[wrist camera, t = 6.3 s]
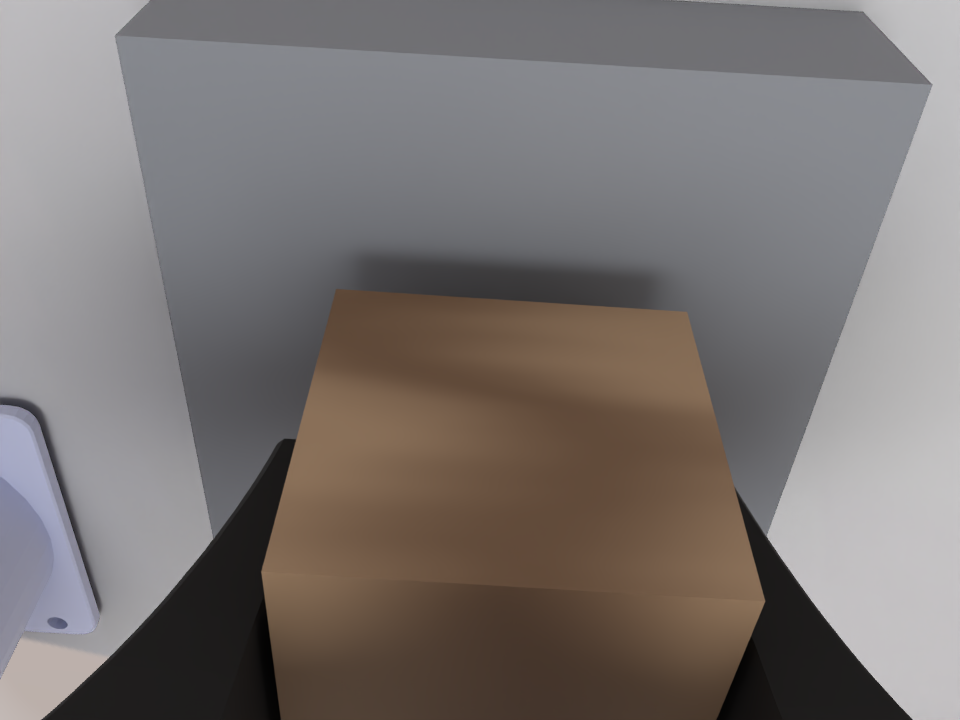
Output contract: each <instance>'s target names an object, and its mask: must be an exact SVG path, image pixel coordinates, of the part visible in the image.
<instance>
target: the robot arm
mask: <svg viewBox="0 0 960 720" xmlns="http://www.w3.org/2000/svg"><path fill="white" fill-rule="evenodd" d="M295 443H296V439H285V438H284V439H283V440H282V441H280V442H279V443H277V445H276V446H275V448H274V450H273V452H272V454H271V455H270V457H269V459H268V460H267V462H266V464H265V465H264V467H263V468H262V470H261V472H260V473H259V475H258V476H257V478H256V480H255V481H254V483H253V484H252V486H251V487H250V489H249V490H248V492H247V493H246V495H245V496H244V497H243V499H242V500H241V502H240V503H239V505H238V506H237V508H236V509H235V511H234V512H233V513H232V515H231V516H230V517H229V519H228V520H227V521H226V523H225V524H224V525H223V527H222V528H221V529H220V531H219V532H218V534H217V535H216V536H215V538H214V539H213V540H212V542H211V543H210V544H209V546H208V547H207V548H206V550H205V551H204V552H203V553H202V555H201V556H200V557H199V558H198V560H197V561H196V562H195V563H194V564H193V566H192V567H191V568H190V569H189V570H188V572H187V573H186V574H185V575H184V576H183V578H182V579H181V580H180V581H179V582H178V584H177V585H176V586H175V587H174V588H173V590H172V591H171V592H170V593H169V594H168V596H167V597H166V598H165V599H164V600H163V601H162V603H161V604H160V605H159V606H158V607H157V608H156V609H155V610H154V611H153V613H152V614H151V615H150V616H149V617H148V618H147V619H146V620H145V621H144V622H143V623H142V625H141V626H140V627H139V628H138V629H137V630H136V631H135V632H134V633H133V634H132V635H131V636H130V637H129V638H128V639H127V640H126V641H125V642H124V643H123V644H122V645H121V646H120V647H119V648H118V649H117V650H116V651H115V653H113V654H112V655H111V656H110V657H109V658H108V659H107V660H106V661H105V662H104V663H103V664H102V665H101V666H100V667H99V668H98V669H97V670H96V671H95V672H94V673H93V674H92V675H90V677H88V678H87V679H86V680H85V681H84V682H83V683H82V684H81V685H80V686H79V687H78V688H77V689H76V690H75V691H74V692H72V694H70V695H69V696H68V697H67V698H66V699H65V700H64V701H62V702H61V703H60V704H59V705H58V706H57V707H56V708H55V709H53V711H51V712H50V713H49V714H48V715H47V716H45V717H44V718H43V719H42V720H281V716H280V709H279V701H278V693H277V686H276V678H275V671H274V663H273V656H272V648H271V641H270V633H269V626H268V618H267V610H266V603H265V595H264V588H263V580H262V573H261V571H262V568H263V564H264V560H265V556H266V552H267V549H268V545H269V541H270V537H271V533H272V530H273V526H274V522H275V518H276V515H277V511H278V507H279V503H280V499H281V496H282V492H283V488H284V484H285V480H286V477H287V473H288V469H289V465H290V462H291V458H292V454H293V450H294V446H295ZM735 491H736V495H737V499H738V502H739V506H740V510H741V513H742V517H743V521H744V525H745V528H746V532H747V536H748V539H749V543H750V547H751V550H752V554H753V558H754V562H755V565H756V569H757V573H758V576H759V580H760V584H761V588H762V591H763V595H764V599H765V603H764V606H763V608H762V611H761V613H760V615H759V618H758V620H757V623H756V625H755V627H754V630H753V632H752V635H751V637H750V640H749V642H748V644H747V647H746V649H745V652H744V654H743V657H742V659H741V661H740V664H739V666H738V669H737V671H736V673H735V676H734V678H733V681H732V683H731V686H730V688H729V690H728V693H727V695H726V698H725V700H724V702H723V705H722V707H721V710H720V712H719V715H718V717H717V719H716V720H912V719H911V717H910V716H909V715H908V714H907V713H906V712H905V711H904V710H903V709H902V708H901V707H900V706H899V705H898V704H897V703H896V702H895V701H894V700H893V698H892V697H891V696H890V695H889V694H888V693H887V692H886V691H885V690H884V689H883V687H882V686H881V685H880V684H879V683H878V682H877V681H876V680H875V679H874V677H873V676H872V675H871V674H870V673H869V672H868V671H867V669H866V668H865V667H864V666H863V665H862V664H861V662H860V661H859V660H858V659H857V658H856V656H855V655H854V654H853V653H852V652H851V650H850V649H849V648H848V647H847V646H846V644H845V643H844V642H843V641H842V639H841V638H840V637H839V636H838V634H837V633H836V632H835V631H834V629H833V628H832V627H831V626H830V624H829V623H828V622H827V621H826V619H825V618H824V617H823V615H822V614H821V613H820V611H819V610H818V609H817V607H816V606H815V605H814V603H813V602H812V601H811V599H810V598H809V597H808V595H807V594H806V593H805V591H804V590H803V588H802V587H801V586H800V584H799V583H798V581H797V580H796V579H795V577H794V576H793V574H792V573H791V572H790V570H789V569H788V567H787V566H786V565H785V563H784V562H783V560H782V559H781V558H780V556H779V555H778V553H777V552H776V550H775V549H774V547H773V546H772V544H771V543H770V541H769V540H768V538H767V537H766V535H765V534H764V532H763V531H762V529H761V528H760V526H759V525H758V523H757V521H756V520H755V518H754V517H753V515H752V514H751V512H750V511H749V509H748V507H747V506H746V504H745V503H744V501H743V499H742V498H741V496H740V495H739V493H738V491H737V490H736V488H735ZM99 619H100V614H99V611H98V608H97V605H96V601H95V598H94V595H93V592H92V589H91V586H90V582H89V579H88V576H87V573H86V570H85V567H84V563H83V560H82V557H81V554H80V551H79V548H78V544H77V541H76V538H75V535H74V532H73V529H72V526H71V522H70V519H69V516H68V513H67V510H66V507H65V503H64V500H63V497H62V494H61V491H60V488H59V484H58V481H57V478H56V475H55V472H54V469H53V465H52V462H51V459H50V456H49V453H48V450H47V446H46V443H45V440H44V437H43V434H42V431H41V428H40V424H39V422H38V421H37V419H36V417H35V416H34V415H32V414H31V413H30V412H29V411H27V410H25V409H23V408H21V407H16V406H10V405H0V679H1V676H2V674H3V672H4V670H5V668H6V666H7V664H8V662H9V660H10V658H11V656H12V654H13V652H14V650H15V648H16V646H17V644H18V642H19V640H20V638H21V636H22V634H23V631H32V632H49V633H66V634H87V633H90V632H93V631H94V629H95V628H96V626H97V624H98V621H99Z"/></svg>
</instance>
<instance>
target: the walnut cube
mask: <svg viewBox="0 0 960 720" xmlns="http://www.w3.org/2000/svg"><path fill="white" fill-rule="evenodd" d="M261 573H262V580H263V588H264V595H265V603H266V610H267V618H268V626H269V633H270V641H271V648H272V656H273V663H274V671H275V678H276V686H277V693H278V701H279V709H280V716H281V720H716V719H717V717H718V715H719V712H720V710H721V707H722V705H723V702H724V700H725V698H726V695H727V693H728V690H729V688H730V686H731V683H732V681H733V678H734V676H735V673H736V671H737V669H738V666H739V664H740V661H741V659H742V657H743V654H744V652H745V649H746V647H747V644H748V642H749V640H750V637H751V635H752V632H753V630H754V627H755V625H756V623H757V620H758V618H759V615H760V613H761V611H762V608H763V606H764V603H765V599H764V595H763V591H762V588H761V584H760V580H759V576H758V573H757V569H756V565H755V562H754V558H753V554H752V550H751V547H750V543H749V539H748V536H747V532H746V528H745V525H744V521H743V517H742V513H741V510H740V506H739V502H738V499H737V495H736V491H735V487H734V484H733V480H732V476H731V473H730V469H729V465H728V462H727V458H726V454H725V450H724V447H723V443H722V439H721V436H720V432H719V428H718V424H717V421H716V417H715V413H714V410H713V406H712V402H711V399H710V395H709V391H708V387H707V384H706V380H705V376H704V373H703V369H702V365H701V361H700V358H699V354H698V350H697V347H696V343H695V339H694V336H693V332H692V328H691V324H690V321H689V317H688V313H687V312H681V311H666V310H651V309H635V308H620V307H605V306H590V305H574V304H559V303H544V302H529V301H513V300H498V299H483V298H468V297H452V296H437V295H422V294H406V293H391V292H376V291H361V290H345V289H336V291H335V295H334V299H333V303H332V306H331V310H330V314H329V318H328V322H327V325H326V329H325V333H324V337H323V340H322V344H321V348H320V352H319V356H318V359H317V363H316V367H315V371H314V375H313V378H312V382H311V386H310V390H309V393H308V397H307V401H306V405H305V409H304V412H303V416H302V420H301V424H300V428H299V431H298V435H297V439H296V443H295V446H294V450H293V454H292V458H291V462H290V465H289V469H288V473H287V477H286V480H285V484H284V488H283V492H282V496H281V499H280V503H279V507H278V511H277V515H276V518H275V522H274V526H273V530H272V533H271V537H270V541H269V545H268V549H267V552H266V556H265V560H264V564H263V568H262V571H261Z"/></svg>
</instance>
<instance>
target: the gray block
mask: <svg viewBox="0 0 960 720" xmlns="http://www.w3.org/2000/svg"><path fill="white" fill-rule="evenodd" d="M115 38H116V43H117V48H118V53H119V59H120V64H121V69H122V74H123V79H124V84H125V89H126V94H127V99H128V105H129V110H130V115H131V120H132V125H133V130H134V135H135V140H136V145H137V151H138V156H139V161H140V166H141V171H142V176H143V181H144V186H145V191H146V197H147V202H148V207H149V212H150V217H151V222H152V227H153V232H154V237H155V243H156V248H157V253H158V258H159V263H160V268H161V273H162V278H163V283H164V288H165V294H166V299H167V304H168V309H169V314H170V319H171V324H172V329H173V334H174V340H175V345H176V350H177V355H178V360H179V365H180V370H181V375H182V380H183V386H184V391H185V396H186V401H187V406H188V411H189V416H190V421H191V426H192V432H193V437H194V442H195V447H196V452H197V457H198V462H199V467H200V472H201V477H202V483H203V488H204V493H205V498H206V503H207V508H208V513H209V518H210V523H211V529H212V534H213V539H214V538H215V536H216V535H217V534H218V532H219V531H220V529H221V528H222V527H223V525H224V524H225V523H226V521H227V520H228V519H229V517H230V516H231V515H232V513H233V512H234V511H235V509H236V508H237V506H238V505H239V503H240V502H241V500H242V499H243V497H244V496H245V495H246V493H247V492H248V490H249V489H250V487H251V486H252V484H253V483H254V481H255V480H256V478H257V476H258V475H259V473H260V472H261V470H262V468H263V467H264V465H265V464H266V462H267V460H268V459H269V457H270V455H271V454H272V452H273V450H274V448H275V446H276V445H277V443H279V442H280V441H282V440H283V439H284V438H285V439H297V435H298V431H299V428H300V424H301V420H302V416H303V412H304V409H305V405H306V401H307V397H308V393H309V390H310V386H311V382H312V378H313V375H314V371H315V367H316V363H317V359H318V356H319V352H320V348H321V344H322V340H323V337H324V333H325V329H326V325H327V322H328V318H329V314H330V310H331V306H332V303H333V299H334V295H335V291H336V289H345V290H361V291H376V292H391V293H406V294H422V295H437V296H452V297H468V298H483V299H498V300H513V301H529V302H544V303H559V304H574V305H590V306H605V307H620V308H635V309H651V310H666V311H681V312H687V313H688V317H689V321H690V324H691V328H692V332H693V336H694V339H695V343H696V347H697V350H698V354H699V358H700V361H701V365H702V369H703V373H704V376H705V380H706V384H707V387H708V391H709V395H710V399H711V402H712V406H713V410H714V413H715V417H716V421H717V424H718V428H719V432H720V436H721V439H722V443H723V447H724V450H725V454H726V458H727V462H728V465H729V469H730V473H731V476H732V480H733V484H734V487H735V488H736V490H737V491H738V493H739V495H740V496H741V498H742V499H743V501H744V503H745V504H746V506H747V507H748V509H749V511H750V512H751V514H752V515H753V517H754V518H755V520H756V521H757V523H758V525H759V526H760V528H761V529H762V531H763V532H764V534H765V535H766V536H767V533H768V530H769V528H770V525H771V522H772V519H773V517H774V514H775V511H776V509H777V506H778V503H779V500H780V498H781V495H782V492H783V490H784V487H785V484H786V481H787V479H788V476H789V473H790V471H791V468H792V465H793V462H794V460H795V457H796V454H797V452H798V449H799V446H800V443H801V441H802V438H803V435H804V433H805V430H806V427H807V424H808V422H809V419H810V416H811V413H812V411H813V408H814V405H815V403H816V400H817V397H818V394H819V392H820V389H821V386H822V384H823V381H824V378H825V375H826V373H827V370H828V367H829V365H830V362H831V359H832V356H833V354H834V351H835V348H836V346H837V343H838V340H839V337H840V335H841V332H842V329H843V327H844V324H845V321H846V318H847V316H848V313H849V310H850V308H851V305H852V302H853V299H854V297H855V294H856V291H857V289H858V286H859V283H860V280H861V278H862V275H863V272H864V269H865V267H866V264H867V261H868V259H869V256H870V253H871V250H872V248H873V245H874V242H875V240H876V237H877V234H878V231H879V229H880V226H881V223H882V221H883V218H884V215H885V212H886V210H887V207H888V204H889V202H890V199H891V196H892V193H893V191H894V188H895V185H896V183H897V180H898V177H899V174H900V172H901V169H902V166H903V164H904V161H905V158H906V155H907V153H908V150H909V147H910V145H911V142H912V139H913V136H914V134H915V131H916V128H917V125H918V123H919V120H920V117H921V115H922V112H923V109H924V106H925V104H926V101H927V98H928V96H929V93H930V90H931V87H932V84H931V83H930V82H929V81H928V80H927V78H926V77H925V76H924V75H923V74H922V73H921V72H920V71H919V70H918V69H917V68H916V67H915V66H914V65H913V64H912V63H911V62H910V61H909V60H908V59H907V58H906V56H905V55H904V54H903V53H902V52H901V51H900V50H899V49H898V48H897V47H896V46H895V45H894V44H893V43H892V42H891V41H890V40H889V39H888V38H887V37H886V36H885V34H884V33H883V32H882V31H881V30H880V29H879V28H878V27H877V26H876V25H875V24H874V23H873V22H872V21H871V20H870V19H869V18H868V17H867V16H866V15H865V14H864V12H857V11H840V10H823V9H807V8H790V7H773V6H756V5H740V4H723V3H706V2H690V1H673V0H151V1H150V2H149V3H148V4H147V5H145V6H144V7H143V8H142V9H141V10H140V11H139V12H138V13H137V14H136V15H135V16H134V17H133V18H132V19H131V20H130V21H129V22H128V23H127V24H126V25H125V26H124V27H123V28H122V29H121V30H120V31H119V32H118V33H117V34H116V35H115Z"/></svg>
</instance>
